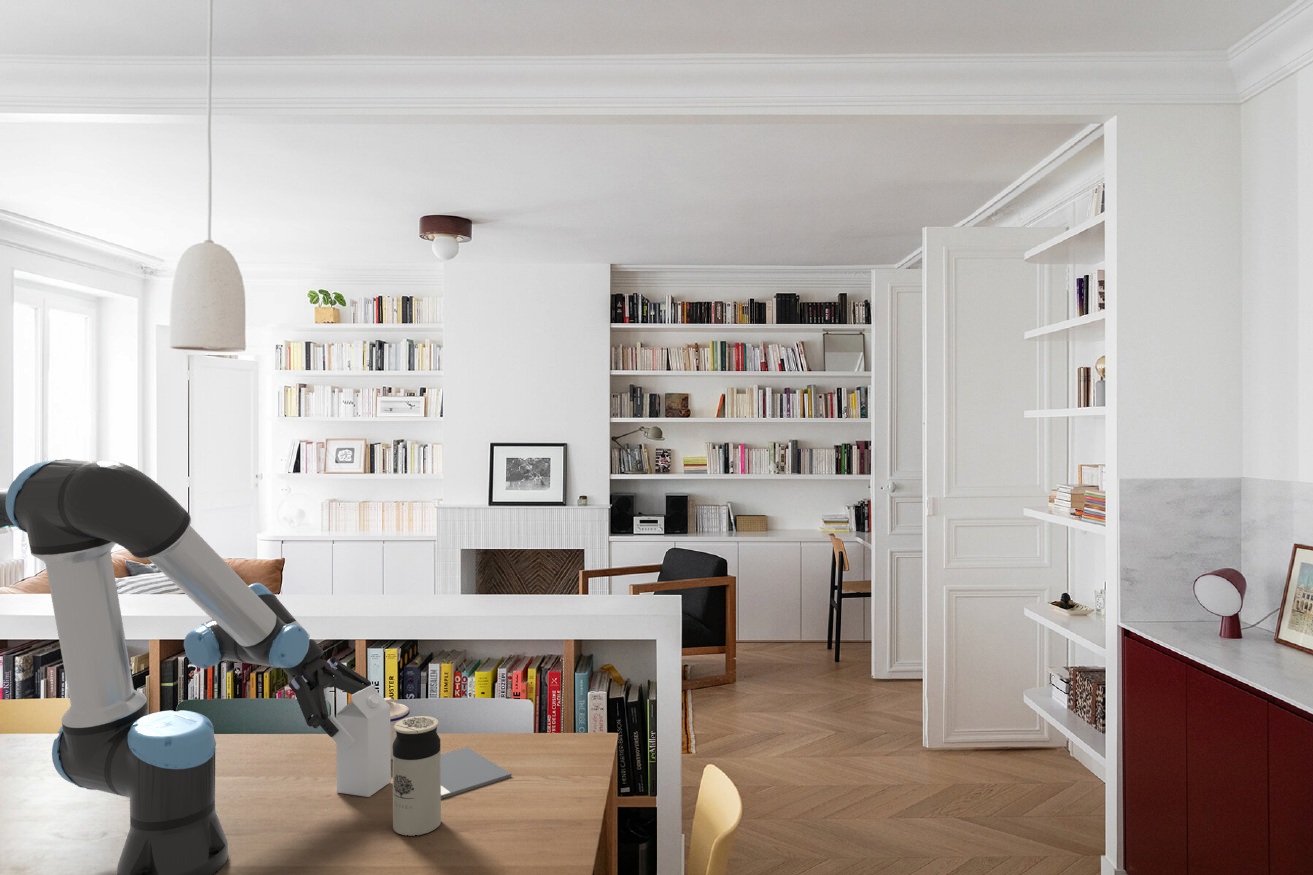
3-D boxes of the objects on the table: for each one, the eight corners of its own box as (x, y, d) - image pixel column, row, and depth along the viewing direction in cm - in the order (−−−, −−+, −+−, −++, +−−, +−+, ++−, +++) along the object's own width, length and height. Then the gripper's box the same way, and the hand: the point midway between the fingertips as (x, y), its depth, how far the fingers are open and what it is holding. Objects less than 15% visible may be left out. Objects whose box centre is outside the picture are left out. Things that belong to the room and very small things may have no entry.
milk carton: (336, 793, 160) (335, 693, 160) (359, 777, 167) (359, 682, 167) (368, 798, 158) (367, 696, 158) (391, 782, 165) (390, 685, 165)
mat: (511, 776, 168) (511, 772, 168) (436, 800, 157) (436, 796, 157) (467, 749, 181) (467, 746, 181) (395, 769, 171) (395, 766, 171)
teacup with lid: (376, 744, 184) (375, 690, 184) (416, 745, 183) (416, 692, 183) (350, 766, 172) (350, 709, 172) (393, 768, 171) (393, 711, 171)
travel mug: (422, 811, 153) (422, 711, 153) (450, 824, 148) (449, 722, 148) (383, 827, 147) (383, 724, 146) (411, 842, 142) (410, 735, 141)
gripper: (317, 646, 178) (385, 721, 176) (242, 683, 153) (319, 771, 152) (341, 622, 177) (409, 697, 175) (269, 656, 152) (347, 744, 151)
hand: (368, 732), depth 163 cm, fingers open, 13 cm apart
